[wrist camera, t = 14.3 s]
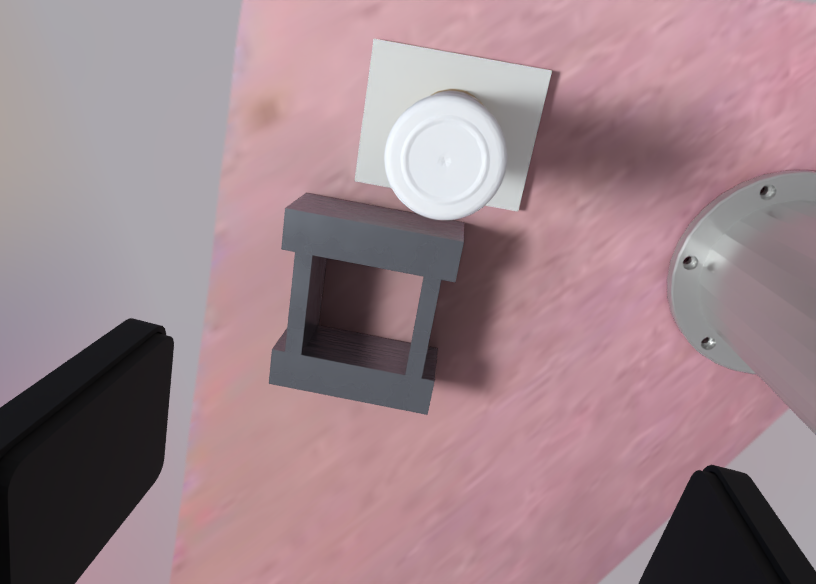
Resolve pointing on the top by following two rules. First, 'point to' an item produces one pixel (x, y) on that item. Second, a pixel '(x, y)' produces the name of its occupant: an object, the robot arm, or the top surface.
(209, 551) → the top surface
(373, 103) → the rubber pad
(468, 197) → the sprinkles bottle
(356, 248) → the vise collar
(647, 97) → the top surface
